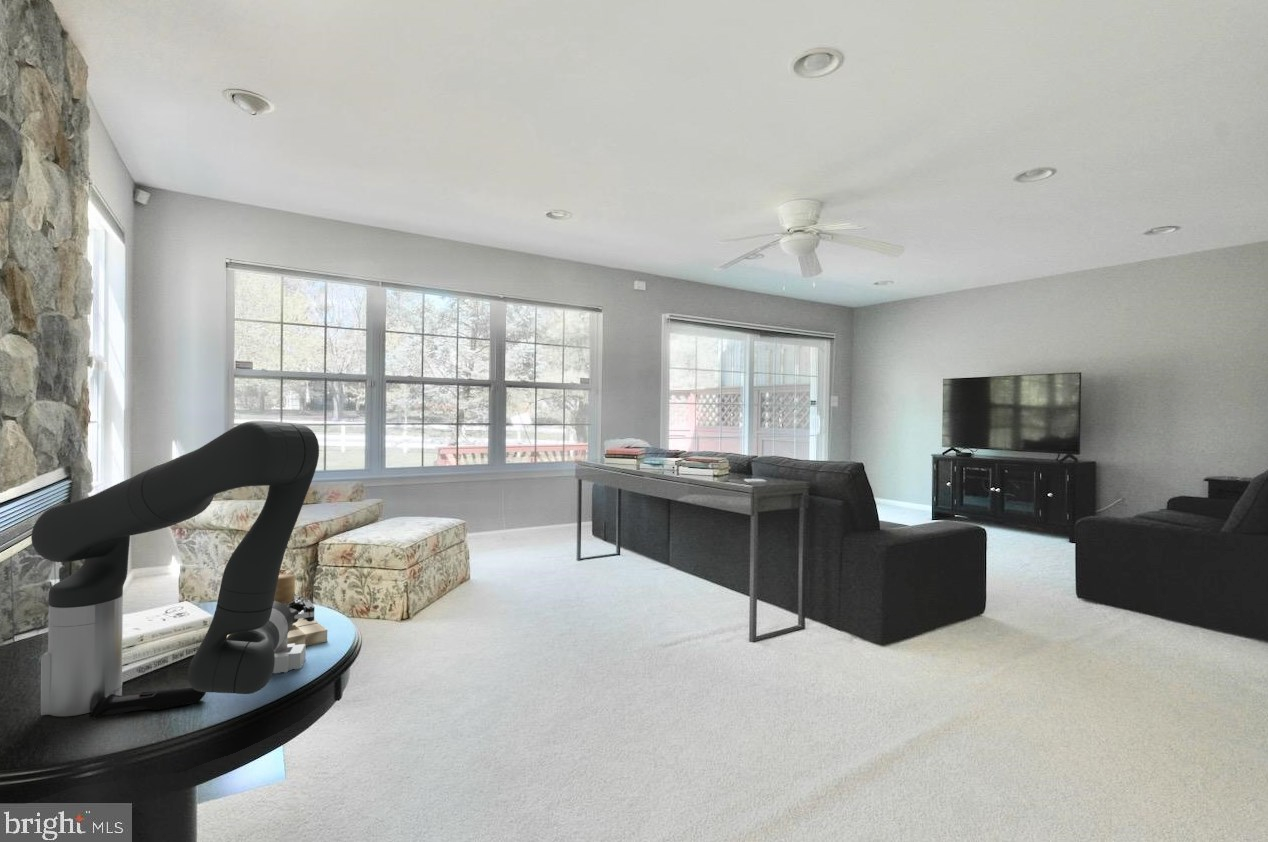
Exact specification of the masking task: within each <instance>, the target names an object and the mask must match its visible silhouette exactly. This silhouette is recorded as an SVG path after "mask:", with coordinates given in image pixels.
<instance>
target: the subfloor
mask: <svg viewBox="0 0 1268 842" xmlns="http://www.w3.org/2000/svg"><path fill="white" fill-rule="evenodd" d="M326 642H328V629H327V628H325V627H324V626H323V625H322V624H321V623H319V621H317V620H316V619H314V621H311V622H310V621H307V620H303V618H300V619H298V621H297V622H296V623H293V625H292V627H291V629H290V631H289V632H288V639H287V644H293V643H295V645H300V644H306V647H308V645H309V646H313V645H318V644H322V643H326Z"/></svg>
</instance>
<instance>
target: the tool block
mask: <svg viewBox="0 0 1268 842" xmlns="http://www.w3.org/2000/svg"><path fill="white" fill-rule="evenodd" d="M306 648H307V646H306V644H300V645H295V643H293V644H287V650H286V651H283V652H276V651H274V654H275V664H274V670H273V673H274V674H281V673H280V672H284V673H288V671H291V670H292V669H295V670H300V668H302V667H303V665H304V663H305V661H306V656H307V655H306V651H307V649H306Z"/></svg>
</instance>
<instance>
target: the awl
mask: <svg viewBox="0 0 1268 842" xmlns="http://www.w3.org/2000/svg"><path fill="white" fill-rule="evenodd" d="M295 579H296V575H295V574H292V573H288V574H287V573H285V574H279V577H278V582H277V588H276V593H275V598H274V601H277V602H280V603H282V604H284V603H285V602H287V601H293V600H294V598H295V589H296V587H295V586H296V584H295V583H296V582H295V581H296V580H295ZM287 639H288V634H287V635H286V637H285V639H284V640H283V641H282V643H281V644H280V646H279V647H278V648H277V649H276V650H275V651H276V652H283V651H286V650H287Z"/></svg>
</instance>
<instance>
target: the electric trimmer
mask: <svg viewBox="0 0 1268 842" xmlns="http://www.w3.org/2000/svg"><path fill="white" fill-rule="evenodd" d="M206 693H207V692H200V691H196V690H194V689H193V688H192V687H182V688H175V689H174V688H172V689H163V690H160V689H159V690H157V691H146V692H145V691H143V692H141V693H133V694H122V696H119V695H115V694H110V695H109V696H108V697H107V698H106V697H102V698H101V699H100V700H99V701H98V703H97V704H96V706H95V707H94V709H93V711H92V712H90V715H89V719H92V718H93V719H94V720H95V719H98V718H99V717H102V716H105V715H106V716H107V715H113V714H119V713H120V714H121V713H129V712H137V711H144V710H149V709H150V710H153V711H160V710H164V709H165V710H166V709H169V708H173V707H178V706H185V705H189V704H190V705H191V704H195V703H198V702H200V701H201V700H202V699H203V698H204V696H205V695H206Z"/></svg>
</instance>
